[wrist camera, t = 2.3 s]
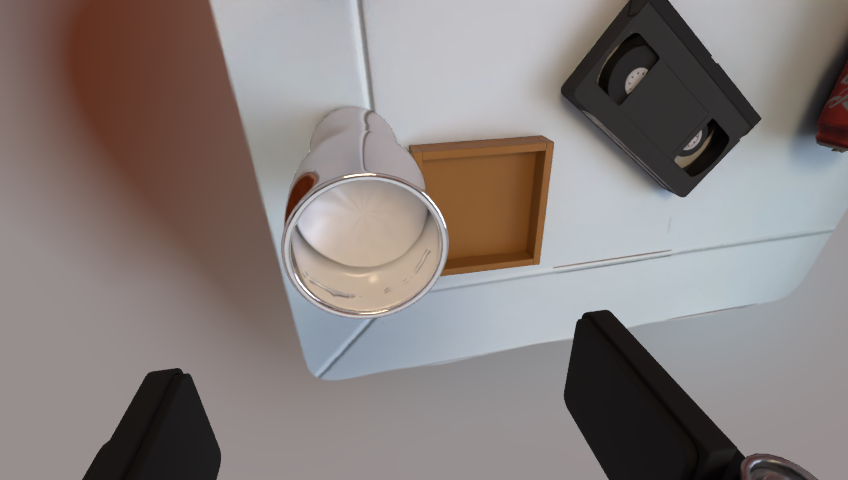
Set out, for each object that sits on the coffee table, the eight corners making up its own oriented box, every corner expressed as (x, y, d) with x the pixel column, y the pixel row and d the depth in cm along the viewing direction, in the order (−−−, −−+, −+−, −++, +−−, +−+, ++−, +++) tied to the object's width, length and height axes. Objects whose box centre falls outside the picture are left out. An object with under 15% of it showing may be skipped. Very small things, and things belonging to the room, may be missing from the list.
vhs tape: (558, 90, 30) (572, 94, 28) (637, -11, 28) (657, -13, 26) (666, 191, 36) (683, 199, 34) (739, 113, 34) (761, 118, 32)
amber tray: (414, 266, 35) (418, 279, 33) (409, 145, 30) (413, 152, 28) (529, 252, 36) (539, 264, 35) (542, 135, 32) (554, 142, 30)
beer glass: (357, 76, 27) (376, 126, 14) (422, 154, 31) (486, 254, 17) (281, 146, 28) (233, 251, 15) (352, 214, 32) (362, 349, 19)
